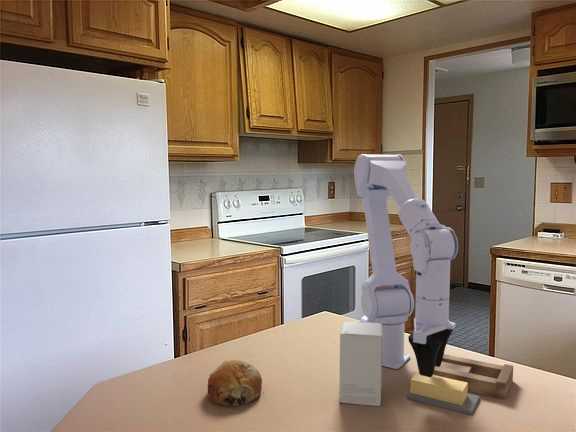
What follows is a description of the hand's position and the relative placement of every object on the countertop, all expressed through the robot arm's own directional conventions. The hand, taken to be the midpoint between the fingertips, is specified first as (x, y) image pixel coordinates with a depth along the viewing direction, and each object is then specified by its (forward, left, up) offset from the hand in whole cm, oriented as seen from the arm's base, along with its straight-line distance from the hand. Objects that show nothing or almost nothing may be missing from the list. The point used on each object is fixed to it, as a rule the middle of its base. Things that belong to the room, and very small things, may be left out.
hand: (430, 370), depth 88 cm
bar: (+2, 0, -4) cm, 4 cm away
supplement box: (-11, -7, -5) cm, 13 cm away
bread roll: (-30, -18, -5) cm, 36 cm away
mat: (+2, 0, -5) cm, 5 cm away
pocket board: (+5, +10, -5) cm, 12 cm away
